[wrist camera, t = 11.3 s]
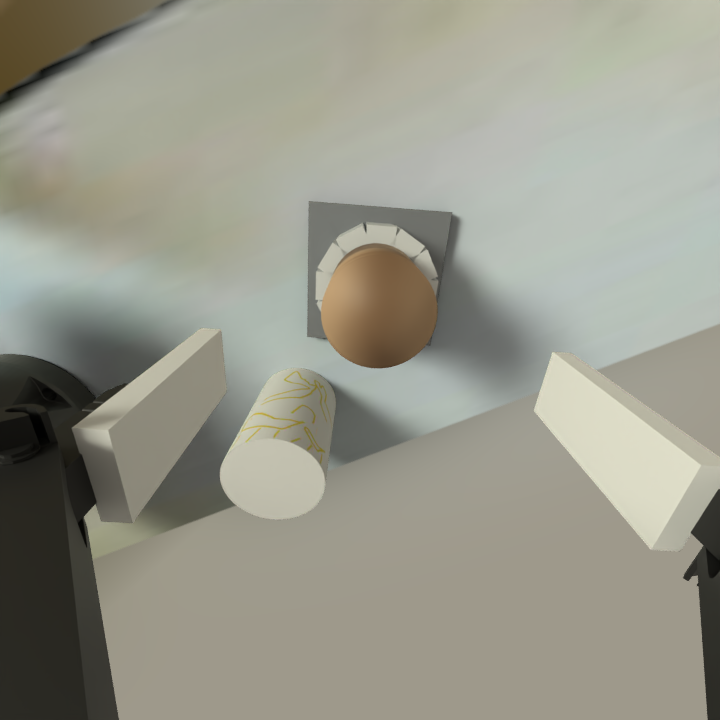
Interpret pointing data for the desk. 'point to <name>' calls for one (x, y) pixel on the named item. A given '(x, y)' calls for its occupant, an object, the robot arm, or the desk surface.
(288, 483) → the cup
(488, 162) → the desk surface
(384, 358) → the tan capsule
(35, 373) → the robot arm
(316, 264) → the socket
